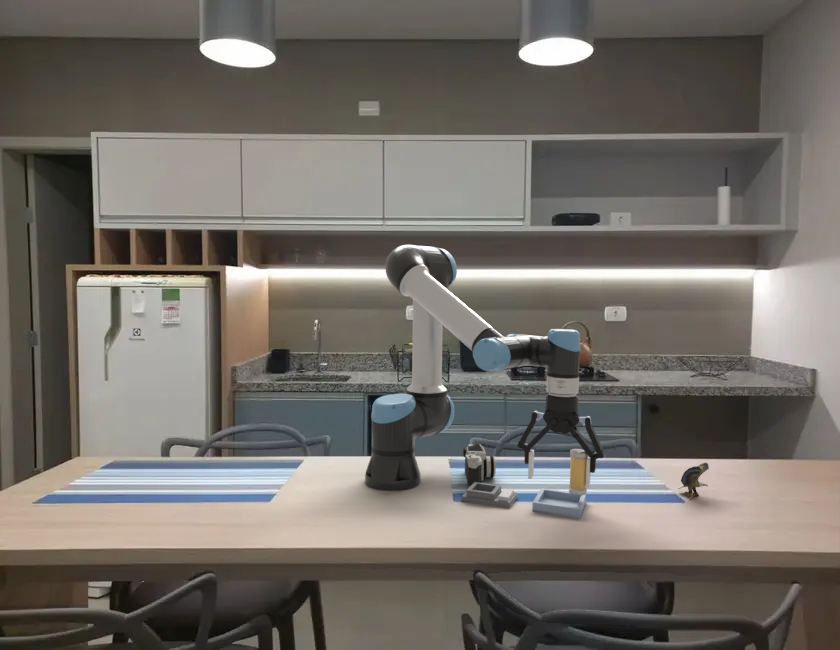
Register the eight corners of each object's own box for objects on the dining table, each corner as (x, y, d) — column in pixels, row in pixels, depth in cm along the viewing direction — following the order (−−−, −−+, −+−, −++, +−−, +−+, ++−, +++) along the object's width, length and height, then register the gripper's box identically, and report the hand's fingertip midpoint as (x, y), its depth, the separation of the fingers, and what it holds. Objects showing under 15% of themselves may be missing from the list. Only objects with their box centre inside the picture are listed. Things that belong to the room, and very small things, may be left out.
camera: (498, 490, 155) (499, 452, 154) (465, 489, 155) (466, 452, 154) (491, 471, 171) (492, 437, 170) (461, 471, 171) (462, 437, 170)
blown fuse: (568, 493, 139) (569, 452, 138) (570, 488, 142) (571, 448, 142) (585, 496, 137) (586, 454, 137) (587, 491, 141) (588, 450, 140)
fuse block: (461, 502, 145) (461, 490, 145) (471, 492, 152) (471, 480, 152) (509, 509, 140) (509, 497, 140) (516, 498, 148) (517, 486, 148)
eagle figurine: (707, 503, 146) (708, 468, 145) (675, 498, 149) (677, 463, 149) (708, 494, 152) (709, 460, 152) (678, 489, 156) (679, 456, 155)
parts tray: (532, 512, 138) (532, 502, 138) (541, 497, 149) (541, 488, 148) (580, 520, 134) (580, 509, 134) (585, 504, 144) (586, 494, 144)
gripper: (507, 391, 141) (504, 478, 143) (615, 401, 132) (611, 494, 133) (514, 387, 148) (511, 469, 149) (618, 396, 139) (614, 484, 140)
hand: (558, 481), depth 141 cm, fingers open, 13 cm apart
